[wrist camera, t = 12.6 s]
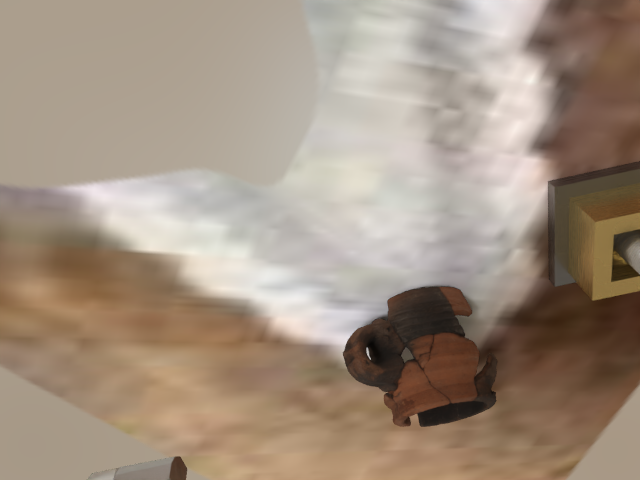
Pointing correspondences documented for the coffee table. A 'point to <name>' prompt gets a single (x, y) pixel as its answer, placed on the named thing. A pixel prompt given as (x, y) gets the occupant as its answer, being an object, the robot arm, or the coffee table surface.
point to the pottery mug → (423, 359)
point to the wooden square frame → (603, 241)
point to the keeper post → (631, 245)
